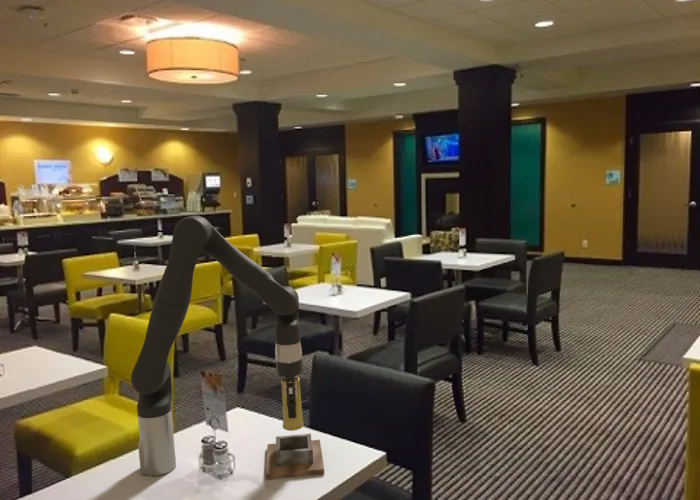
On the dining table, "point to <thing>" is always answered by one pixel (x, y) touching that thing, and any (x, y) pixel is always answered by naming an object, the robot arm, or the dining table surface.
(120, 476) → the dining table surface
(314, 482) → the dining table surface
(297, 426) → the vase
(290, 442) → the dock
